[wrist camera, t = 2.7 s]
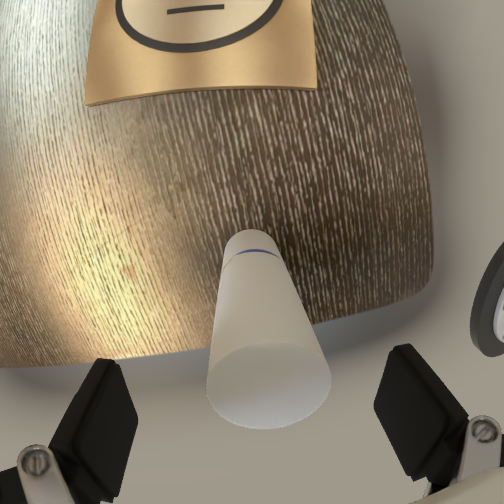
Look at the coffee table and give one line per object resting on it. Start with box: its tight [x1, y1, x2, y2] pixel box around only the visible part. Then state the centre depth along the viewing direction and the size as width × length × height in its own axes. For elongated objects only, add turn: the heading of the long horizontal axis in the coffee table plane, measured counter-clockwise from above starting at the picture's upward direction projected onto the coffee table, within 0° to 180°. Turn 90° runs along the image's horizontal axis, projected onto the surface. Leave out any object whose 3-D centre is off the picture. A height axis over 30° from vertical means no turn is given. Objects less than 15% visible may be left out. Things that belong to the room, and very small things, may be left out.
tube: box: [206, 229, 332, 429], centre depth 16 cm, size 4×4×15 cm
